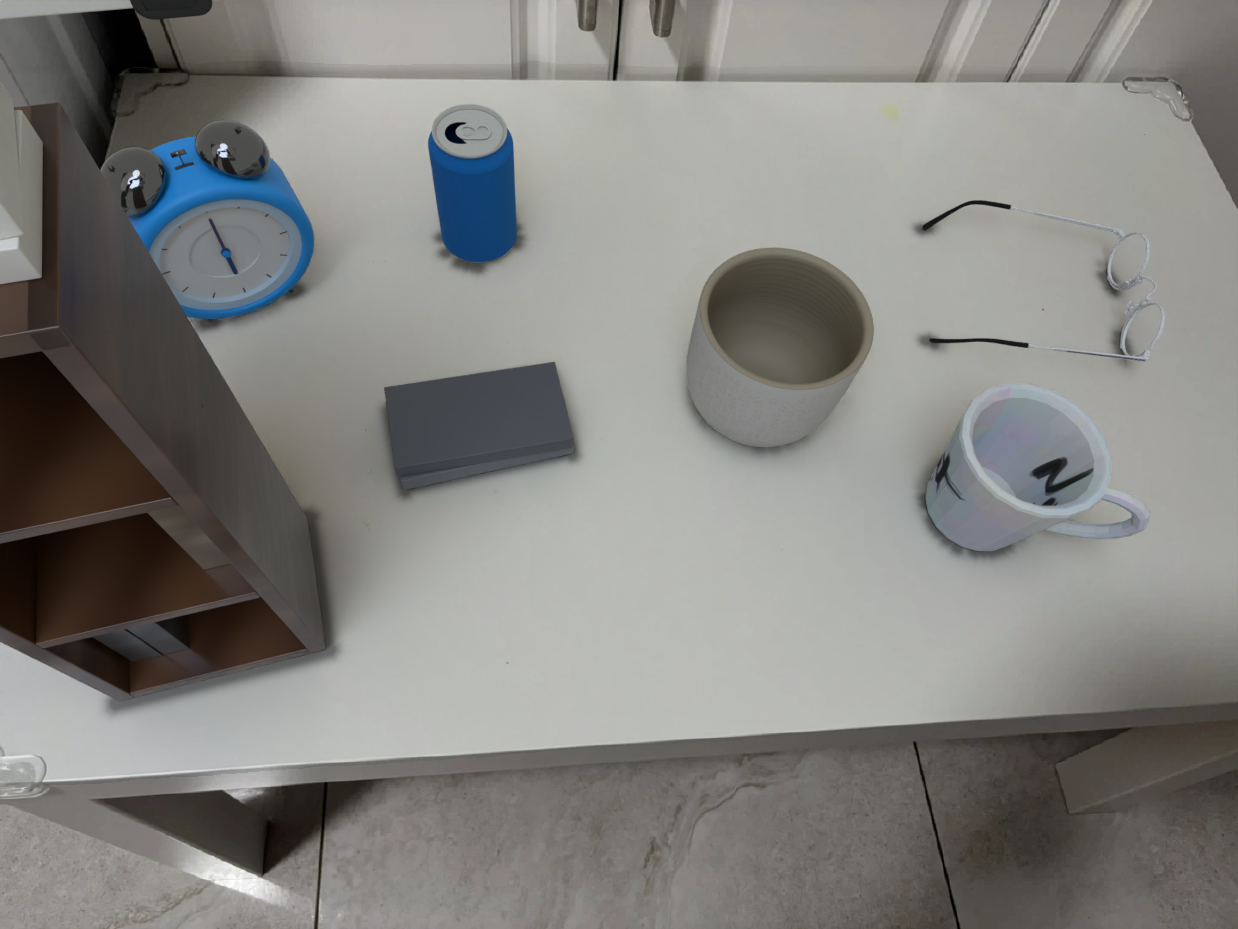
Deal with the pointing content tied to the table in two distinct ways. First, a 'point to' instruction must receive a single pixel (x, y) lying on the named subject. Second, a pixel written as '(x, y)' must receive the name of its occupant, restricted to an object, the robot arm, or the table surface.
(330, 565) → the table surface
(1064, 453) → the mug
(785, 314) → the planter
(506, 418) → the grey book pile
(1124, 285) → the eyeglasses
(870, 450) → the table surface
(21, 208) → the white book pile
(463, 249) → the beverage can
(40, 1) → the white flat block
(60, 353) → the bookcase
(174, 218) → the alarm clock
